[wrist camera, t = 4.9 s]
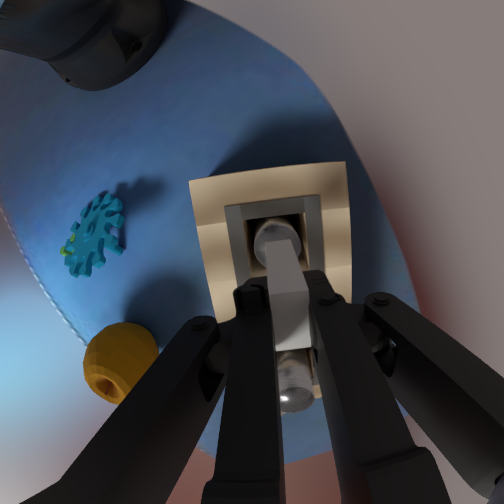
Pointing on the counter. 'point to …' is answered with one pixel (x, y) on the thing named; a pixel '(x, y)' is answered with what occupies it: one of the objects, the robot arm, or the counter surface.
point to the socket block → (266, 205)
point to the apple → (118, 359)
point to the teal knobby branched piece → (93, 236)
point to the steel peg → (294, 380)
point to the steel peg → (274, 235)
